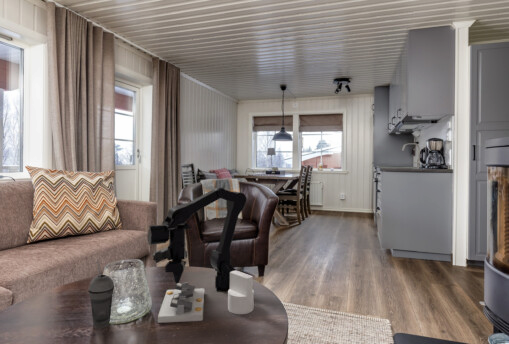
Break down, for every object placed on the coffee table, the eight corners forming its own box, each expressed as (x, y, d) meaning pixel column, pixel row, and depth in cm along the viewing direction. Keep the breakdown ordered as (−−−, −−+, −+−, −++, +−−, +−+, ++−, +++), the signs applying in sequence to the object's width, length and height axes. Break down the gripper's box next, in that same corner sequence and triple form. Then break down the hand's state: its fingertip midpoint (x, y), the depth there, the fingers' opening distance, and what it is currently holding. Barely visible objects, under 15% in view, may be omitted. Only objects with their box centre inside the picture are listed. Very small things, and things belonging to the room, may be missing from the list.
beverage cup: (104, 332, 94) (104, 266, 94) (82, 329, 96) (82, 264, 95) (119, 320, 102) (119, 258, 101) (99, 318, 103) (99, 257, 102)
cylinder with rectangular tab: (222, 308, 111) (222, 274, 111) (240, 300, 118) (241, 268, 117) (240, 317, 105) (241, 281, 105) (258, 308, 112) (259, 274, 111)
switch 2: (193, 291, 114) (193, 288, 114) (193, 296, 110) (192, 293, 110) (174, 297, 113) (173, 294, 113) (173, 302, 109) (172, 299, 109)
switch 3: (191, 305, 107) (192, 302, 107) (191, 310, 103) (192, 307, 103) (171, 300, 106) (172, 297, 106) (169, 306, 102) (170, 303, 102)
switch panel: (204, 293, 123) (204, 281, 123) (202, 320, 102) (202, 305, 102) (167, 294, 121) (167, 282, 121) (157, 322, 100) (157, 307, 100)
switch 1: (194, 288, 121) (195, 286, 121) (193, 293, 117) (194, 290, 117) (176, 284, 120) (176, 281, 120) (174, 288, 116) (175, 286, 116)
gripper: (159, 235, 126) (158, 274, 126) (149, 248, 107) (149, 294, 108) (187, 235, 127) (187, 273, 128) (183, 248, 109) (183, 292, 109)
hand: (177, 282), depth 118 cm, fingers closed
